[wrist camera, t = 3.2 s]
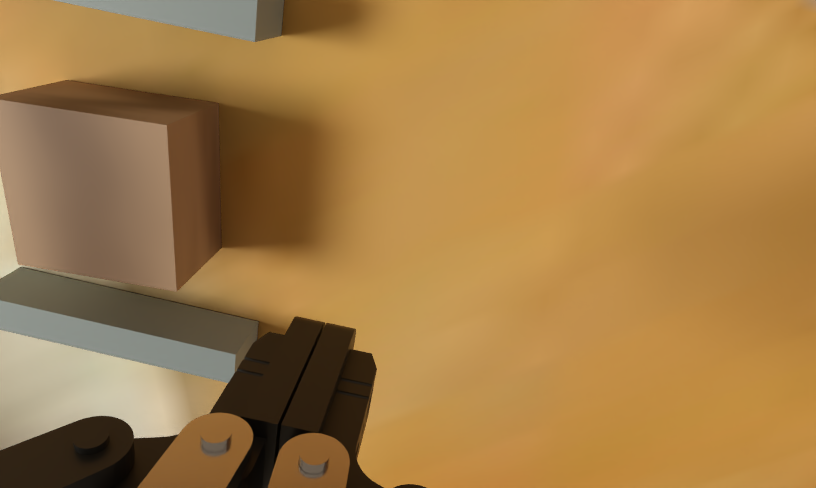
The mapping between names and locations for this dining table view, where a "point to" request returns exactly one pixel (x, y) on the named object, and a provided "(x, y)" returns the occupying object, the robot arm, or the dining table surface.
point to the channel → (125, 311)
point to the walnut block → (111, 182)
